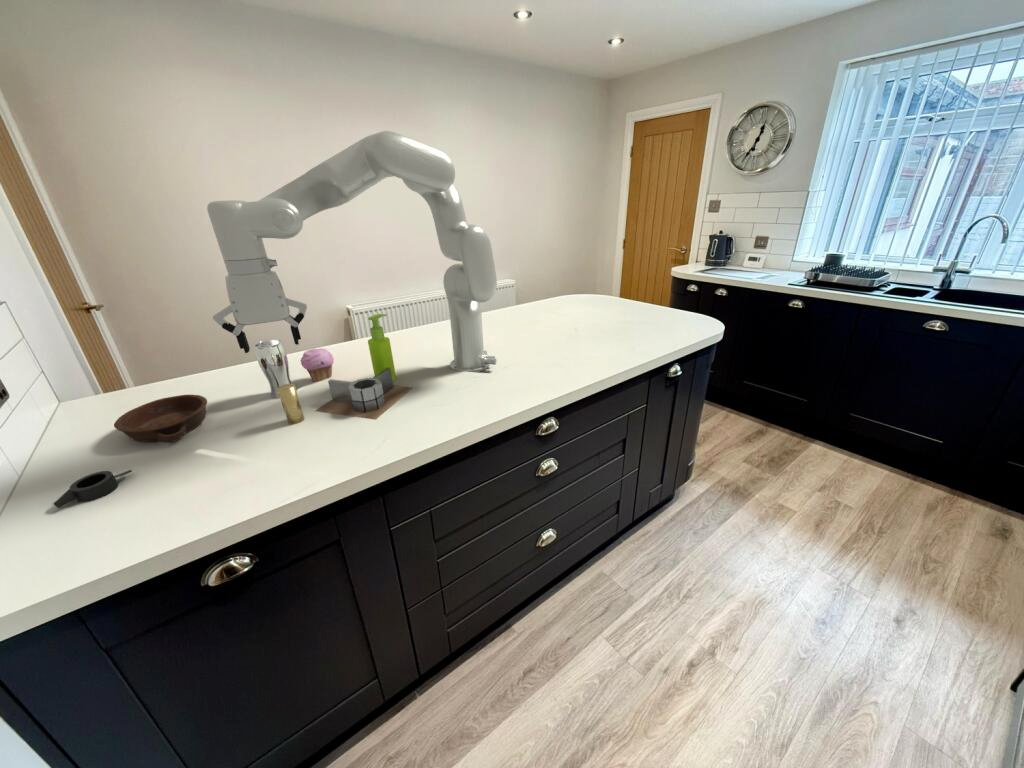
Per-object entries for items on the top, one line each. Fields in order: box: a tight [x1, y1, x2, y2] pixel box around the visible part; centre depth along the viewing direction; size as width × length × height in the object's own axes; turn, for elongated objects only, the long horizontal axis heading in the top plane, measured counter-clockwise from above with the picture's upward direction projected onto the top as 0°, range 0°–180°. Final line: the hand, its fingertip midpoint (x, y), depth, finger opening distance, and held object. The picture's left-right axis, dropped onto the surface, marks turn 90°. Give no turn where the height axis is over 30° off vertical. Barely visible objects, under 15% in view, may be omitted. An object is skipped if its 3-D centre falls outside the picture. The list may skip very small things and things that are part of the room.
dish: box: [113, 394, 208, 443], centre depth 95 cm, size 18×22×5 cm
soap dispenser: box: [367, 313, 397, 381], centre depth 112 cm, size 6×7×20 cm
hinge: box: [327, 368, 394, 413], centre depth 103 cm, size 15×15×6 cm
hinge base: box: [314, 384, 414, 421], centre depth 104 cm, size 18×18×1 cm
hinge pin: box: [277, 383, 306, 425], centre depth 93 cm, size 4×4×10 cm
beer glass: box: [253, 338, 293, 398], centre depth 108 cm, size 7×7×15 cm
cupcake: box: [300, 347, 334, 383], centre depth 116 cm, size 9×9×10 cm
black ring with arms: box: [52, 469, 133, 509], centre depth 74 cm, size 8×10×3 cm
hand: (272, 346), depth 87 cm, fingers open, 9 cm apart
